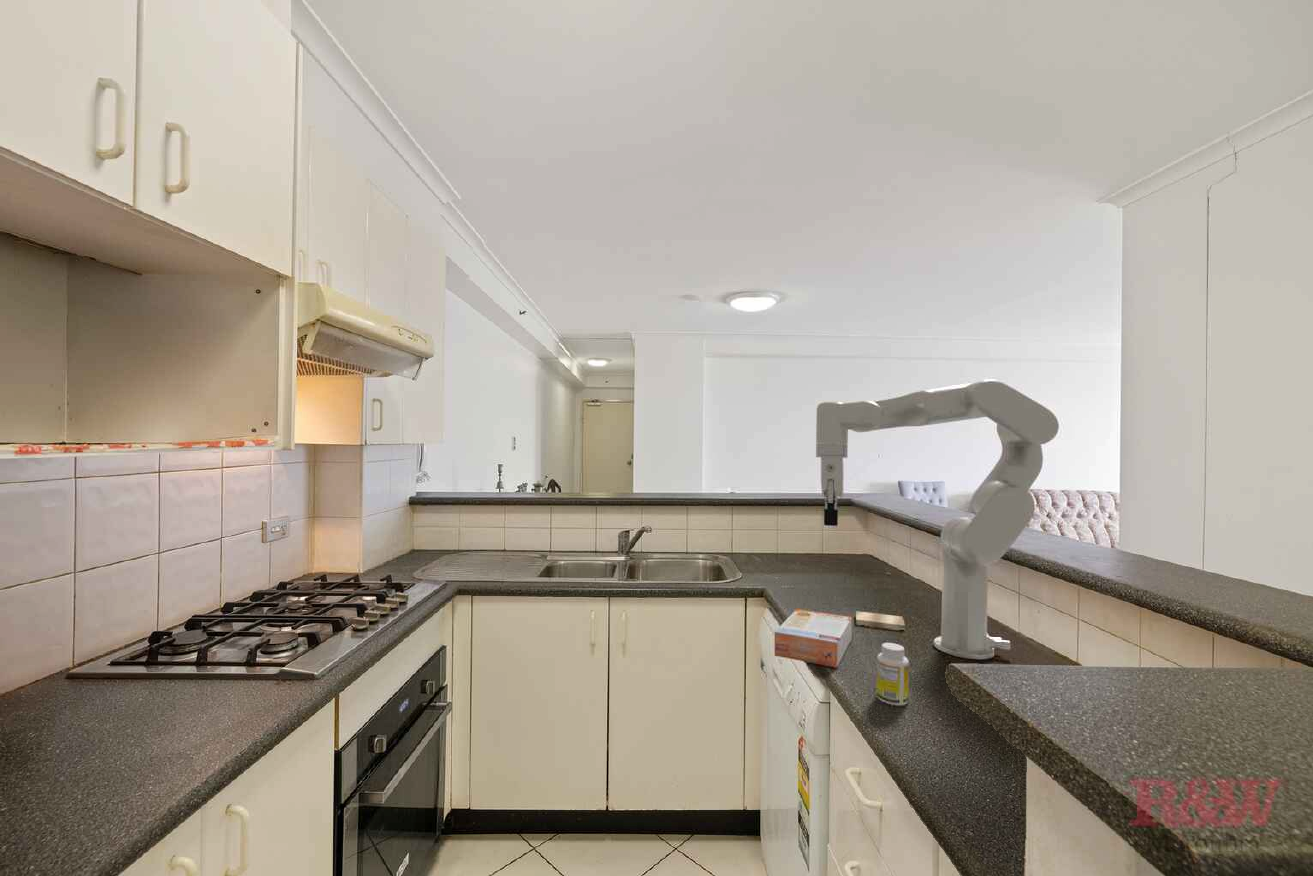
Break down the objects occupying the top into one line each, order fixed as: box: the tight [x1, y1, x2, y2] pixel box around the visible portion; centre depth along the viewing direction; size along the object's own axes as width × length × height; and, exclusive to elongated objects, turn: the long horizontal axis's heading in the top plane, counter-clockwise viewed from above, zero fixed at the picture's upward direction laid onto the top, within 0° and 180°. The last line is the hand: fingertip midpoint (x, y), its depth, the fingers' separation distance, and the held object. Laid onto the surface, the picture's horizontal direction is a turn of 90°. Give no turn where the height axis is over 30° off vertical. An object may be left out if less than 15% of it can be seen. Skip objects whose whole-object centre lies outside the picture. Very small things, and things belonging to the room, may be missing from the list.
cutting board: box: [855, 610, 906, 632], centre depth 150 cm, size 12×8×2 cm, turn 71°
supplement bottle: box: [876, 642, 910, 707], centre depth 105 cm, size 6×6×10 cm
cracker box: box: [774, 608, 853, 669], centre depth 131 cm, size 14×6×21 cm
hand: (830, 525), depth 138 cm, fingers closed
